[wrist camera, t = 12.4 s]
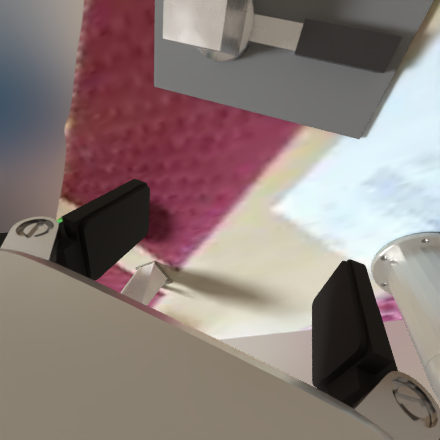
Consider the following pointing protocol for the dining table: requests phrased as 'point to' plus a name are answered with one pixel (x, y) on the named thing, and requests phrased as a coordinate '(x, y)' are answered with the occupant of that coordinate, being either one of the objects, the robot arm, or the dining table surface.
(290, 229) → the dining table surface
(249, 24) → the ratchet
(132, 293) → the skyscraper
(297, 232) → the dining table surface
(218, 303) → the dining table surface
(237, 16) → the light grey block
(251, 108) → the tool mat
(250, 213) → the dining table surface
